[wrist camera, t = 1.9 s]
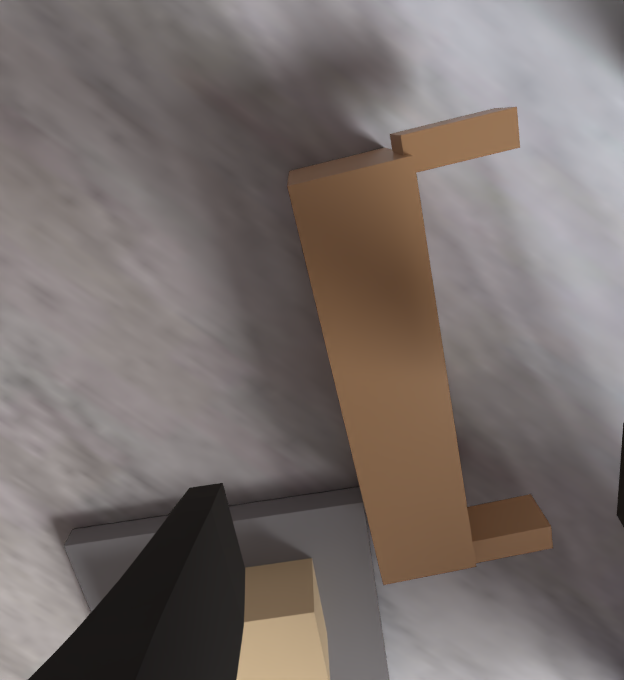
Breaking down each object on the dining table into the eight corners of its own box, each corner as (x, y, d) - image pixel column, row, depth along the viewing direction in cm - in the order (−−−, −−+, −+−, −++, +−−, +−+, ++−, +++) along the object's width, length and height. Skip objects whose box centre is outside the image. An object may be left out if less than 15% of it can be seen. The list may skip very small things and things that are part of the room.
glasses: (466, 110, 14) (525, 106, 11) (507, 474, 19) (560, 561, 15) (285, 155, 15) (282, 166, 11) (367, 502, 19) (385, 595, 15)
